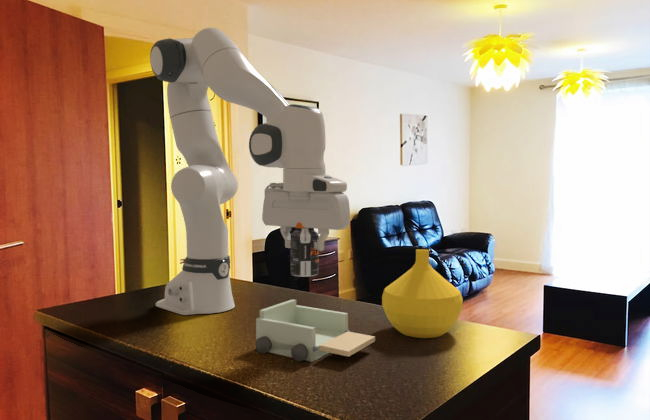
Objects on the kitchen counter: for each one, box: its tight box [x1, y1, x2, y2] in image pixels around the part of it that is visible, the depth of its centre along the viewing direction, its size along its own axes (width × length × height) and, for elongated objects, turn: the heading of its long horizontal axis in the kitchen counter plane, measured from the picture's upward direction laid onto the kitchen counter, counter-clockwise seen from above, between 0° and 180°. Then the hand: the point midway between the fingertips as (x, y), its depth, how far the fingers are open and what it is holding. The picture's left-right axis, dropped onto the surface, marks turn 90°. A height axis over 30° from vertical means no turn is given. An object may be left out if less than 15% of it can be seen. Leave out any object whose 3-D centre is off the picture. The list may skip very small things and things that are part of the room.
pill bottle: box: [289, 222, 320, 278], centre depth 110 cm, size 6×6×11 cm
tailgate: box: [320, 331, 376, 358], centre depth 106 cm, size 1×11×6 cm
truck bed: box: [255, 298, 351, 363], centre depth 111 cm, size 15×17×8 cm
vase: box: [381, 248, 464, 339], centre depth 121 cm, size 18×18×19 cm
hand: (304, 249), depth 110 cm, fingers closed on pill bottle, 6 cm apart
